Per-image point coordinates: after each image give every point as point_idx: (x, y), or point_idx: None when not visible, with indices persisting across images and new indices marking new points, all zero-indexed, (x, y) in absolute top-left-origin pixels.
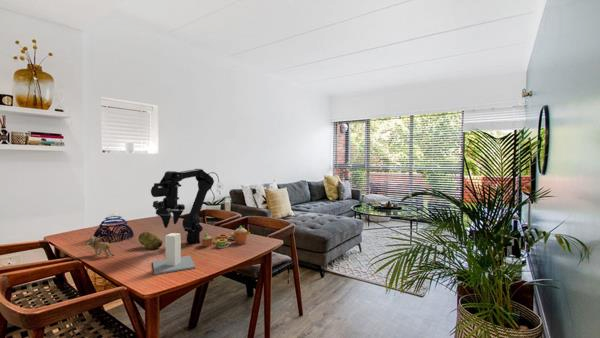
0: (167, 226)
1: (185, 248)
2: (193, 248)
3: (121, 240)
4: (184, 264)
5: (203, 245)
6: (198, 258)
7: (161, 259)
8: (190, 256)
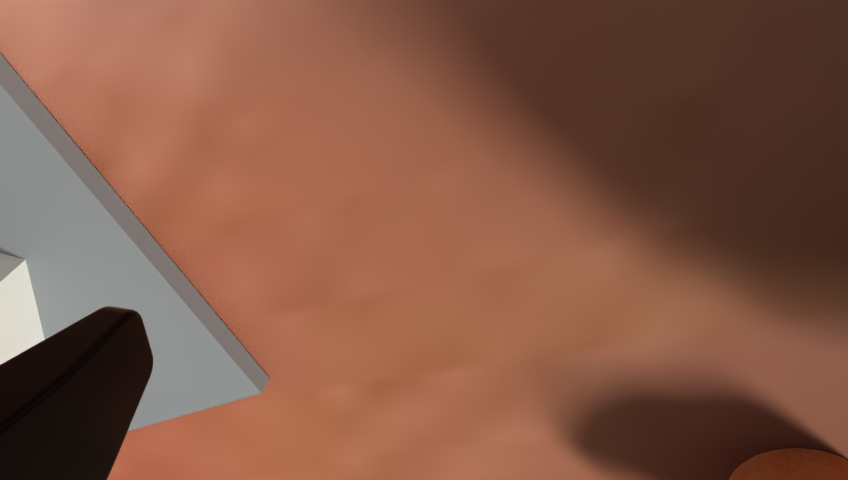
0: (127, 414)
1: (651, 252)
2: (639, 358)
3: None
4: None
5: (746, 469)
6: (250, 450)
7: (22, 115)
8: (228, 401)
